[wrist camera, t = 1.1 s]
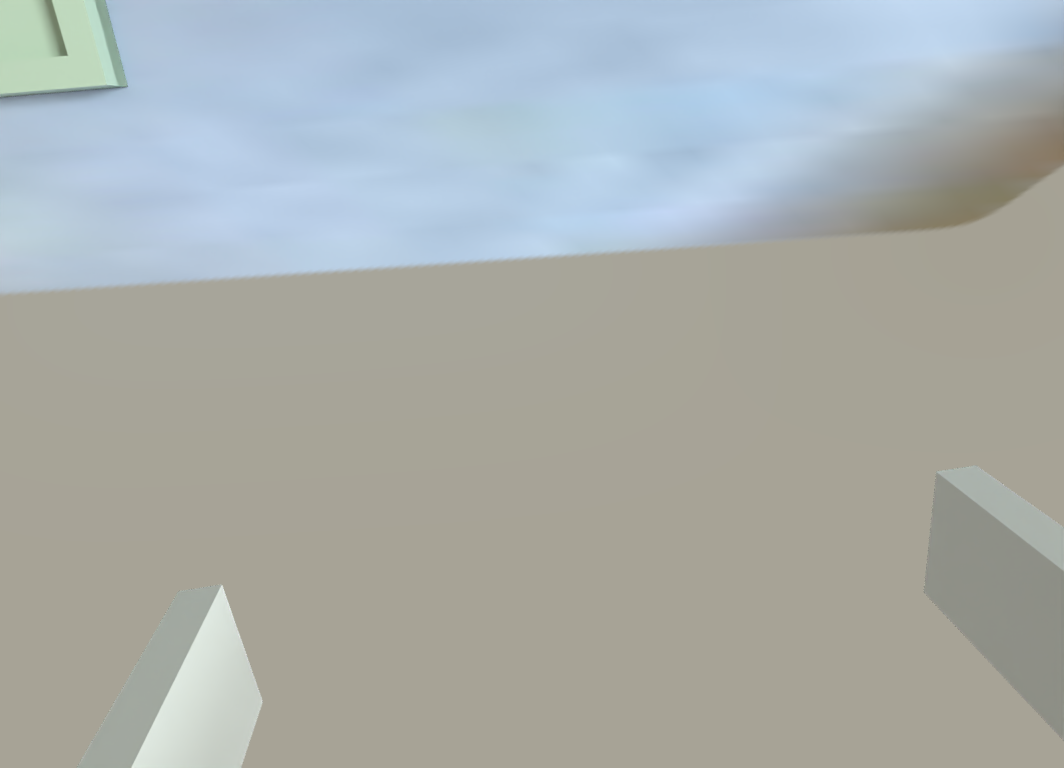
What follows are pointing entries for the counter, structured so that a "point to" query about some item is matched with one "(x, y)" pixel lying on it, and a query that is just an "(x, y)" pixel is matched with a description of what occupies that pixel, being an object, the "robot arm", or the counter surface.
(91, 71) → the tray
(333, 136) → the counter surface
